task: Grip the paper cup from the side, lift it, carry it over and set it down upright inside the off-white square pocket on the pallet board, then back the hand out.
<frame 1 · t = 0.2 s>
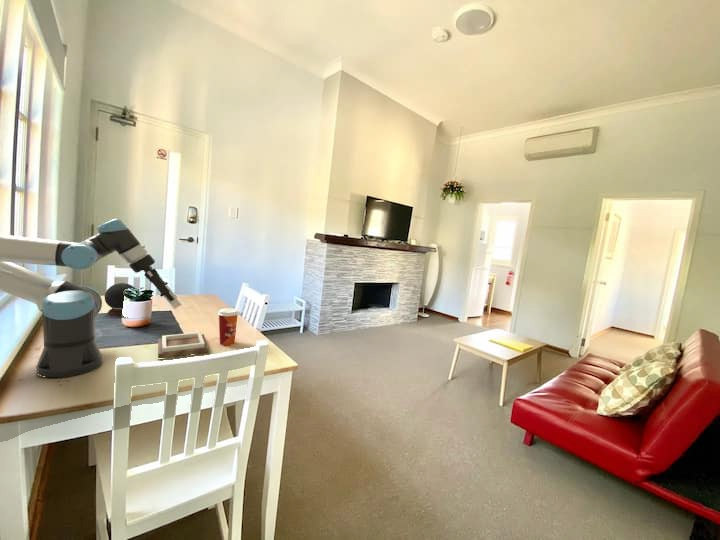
hand: (176, 303, 122), 16 cm above the table, tool tilted 35°, fingers open, 13 cm apart
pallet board: (182, 348, 118), on the table
round bulbous part: (121, 313, 153), on the table
paper cup: (227, 343, 127), on the table
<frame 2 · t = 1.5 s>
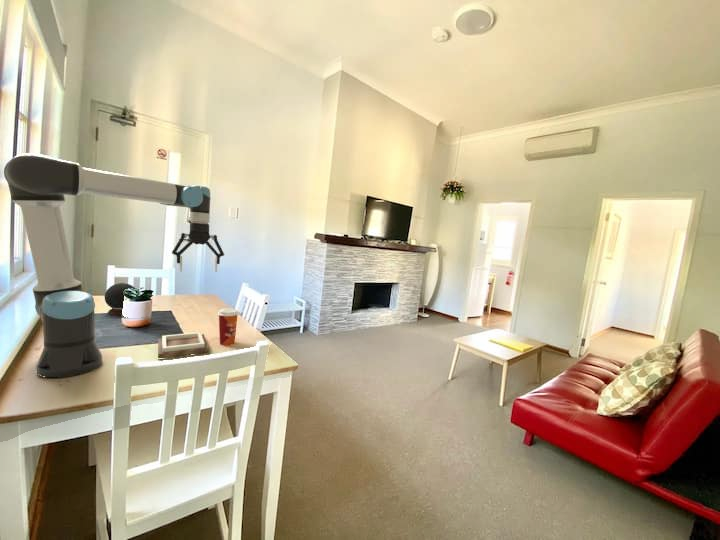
hand: (198, 271, 136), 27 cm above the table, tool pointing down, fingers open, 13 cm apart
nothing on the table moved.
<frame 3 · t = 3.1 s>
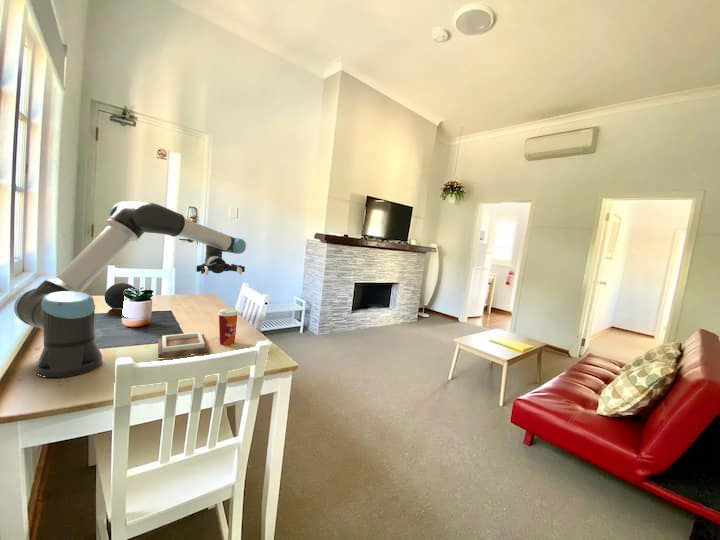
hand: (224, 271, 133), 28 cm above the table, tool horizontal, fingers open, 13 cm apart
nothing on the table moved.
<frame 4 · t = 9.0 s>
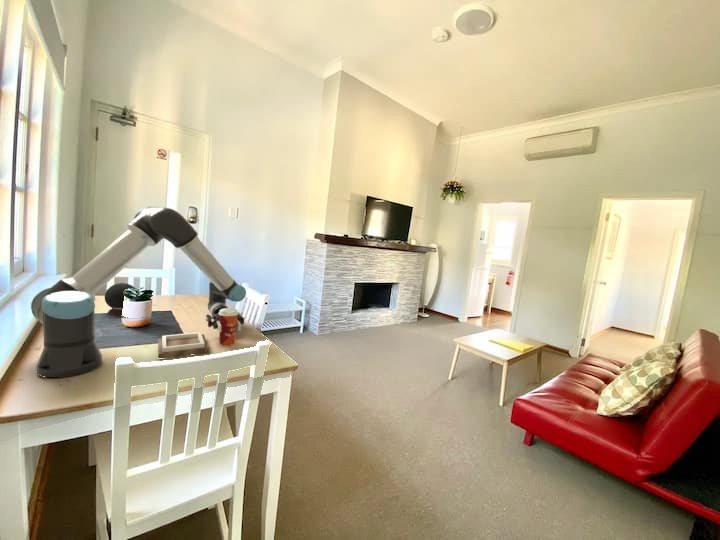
hand: (230, 328, 122), 8 cm above the table, tool horizontal, fingers closed on paper cup, 7 cm apart
paper cup: (227, 343, 127), on the table, touching gripper
everything else where it was.
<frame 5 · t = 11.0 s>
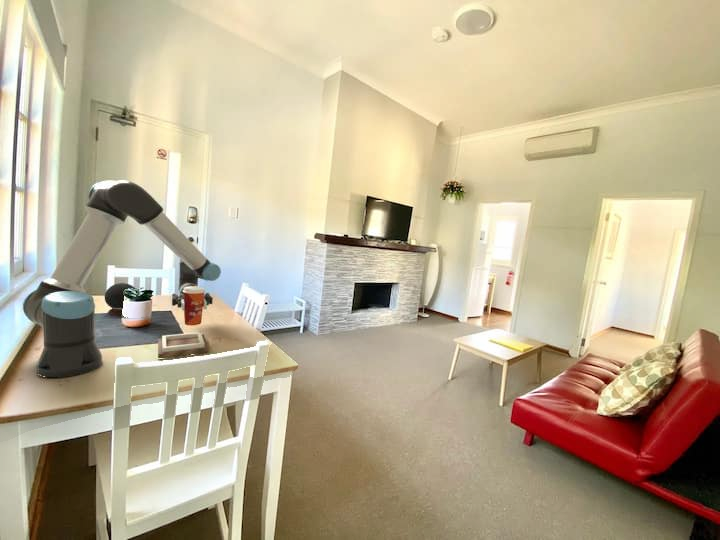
hand: (194, 306, 114), 18 cm above the table, tool horizontal, fingers closed on paper cup, 7 cm apart
paper cup: (193, 323, 119), point 9 cm above the table, touching gripper
everything else where it was.
when the fingers open (11 cm above the table, at t = 13.4 s): paper cup moves 3 cm, resting on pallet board.
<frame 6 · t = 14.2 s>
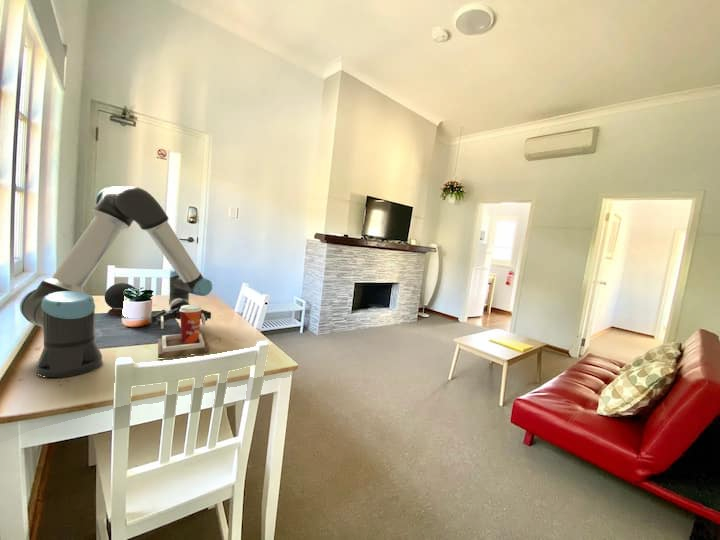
hand: (184, 323, 114), 11 cm above the table, tool horizontal, fingers open, 13 cm apart
paper cup: (190, 342, 120), point 2 cm above the table, touching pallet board
everything else where it was.
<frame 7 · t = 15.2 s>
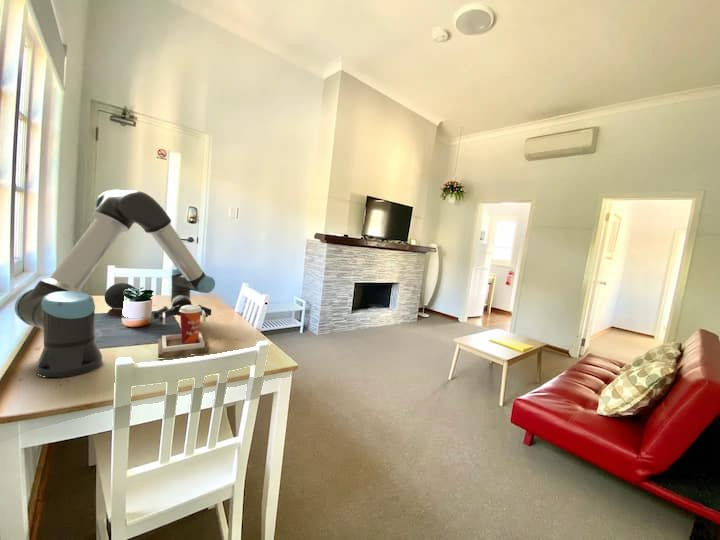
hand: (184, 319, 118), 11 cm above the table, tool horizontal, fingers open, 13 cm apart
nothing on the table moved.
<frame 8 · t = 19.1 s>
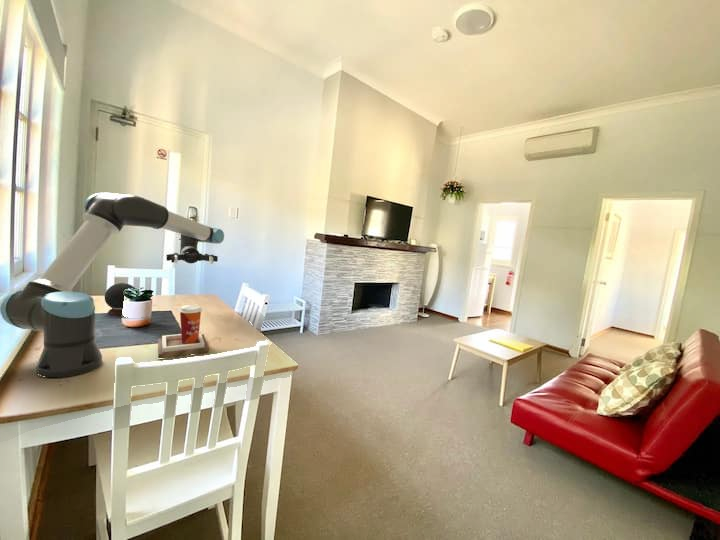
hand: (194, 260, 132), 32 cm above the table, tool horizontal, fingers open, 13 cm apart
nothing on the table moved.
at the end: paper cup 2.6 cm off-centre on the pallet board, point 1.8 cm above the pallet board's base; paper cup tilted 0°; the gripper is holding nothing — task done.
